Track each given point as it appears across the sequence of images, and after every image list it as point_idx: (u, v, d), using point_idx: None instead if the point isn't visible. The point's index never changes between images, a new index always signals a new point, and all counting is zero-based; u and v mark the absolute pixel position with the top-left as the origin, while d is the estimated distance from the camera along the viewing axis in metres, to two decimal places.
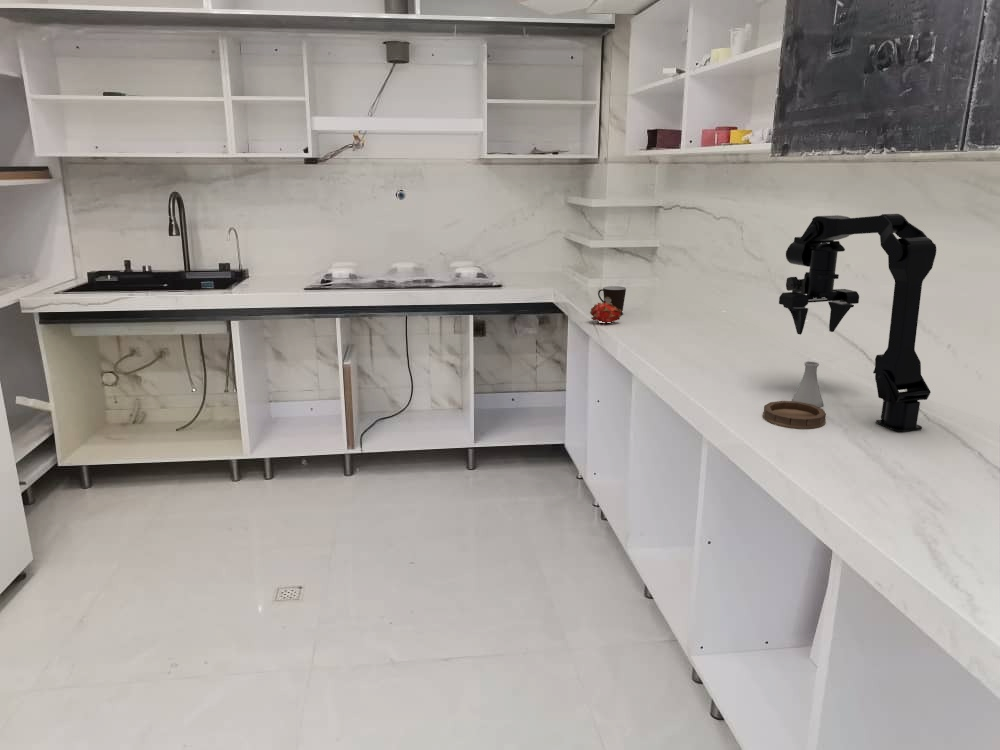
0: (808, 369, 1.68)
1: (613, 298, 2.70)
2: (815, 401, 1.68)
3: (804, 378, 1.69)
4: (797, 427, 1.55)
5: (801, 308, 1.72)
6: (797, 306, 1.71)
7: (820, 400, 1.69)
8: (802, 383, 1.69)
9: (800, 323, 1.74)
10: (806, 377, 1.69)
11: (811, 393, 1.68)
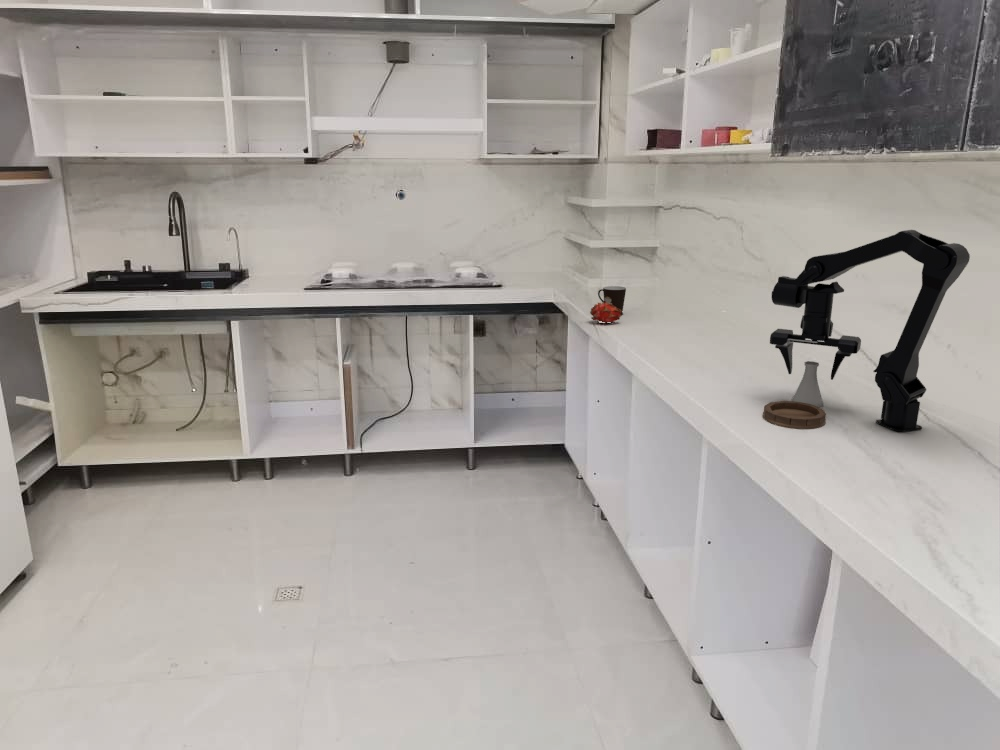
0: (808, 369, 1.68)
1: (613, 298, 2.70)
2: (815, 401, 1.68)
3: (804, 378, 1.69)
4: (797, 427, 1.55)
5: (780, 346, 1.69)
6: (773, 343, 1.69)
7: (820, 400, 1.69)
8: (802, 383, 1.69)
9: (785, 362, 1.70)
10: (806, 377, 1.69)
11: (811, 393, 1.68)
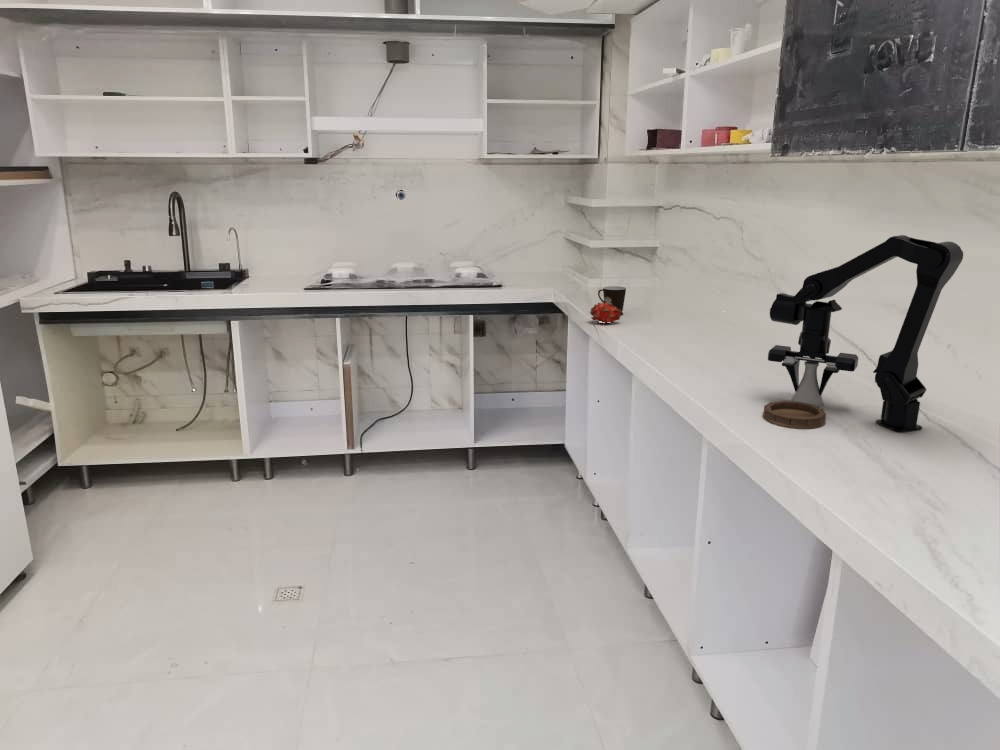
0: (808, 369, 1.68)
1: (613, 298, 2.70)
2: (815, 400, 1.68)
3: (804, 378, 1.69)
4: (797, 427, 1.55)
5: (787, 364, 1.69)
6: (771, 360, 1.70)
7: (820, 400, 1.69)
8: (802, 383, 1.69)
9: None
10: (806, 377, 1.69)
11: (811, 392, 1.68)
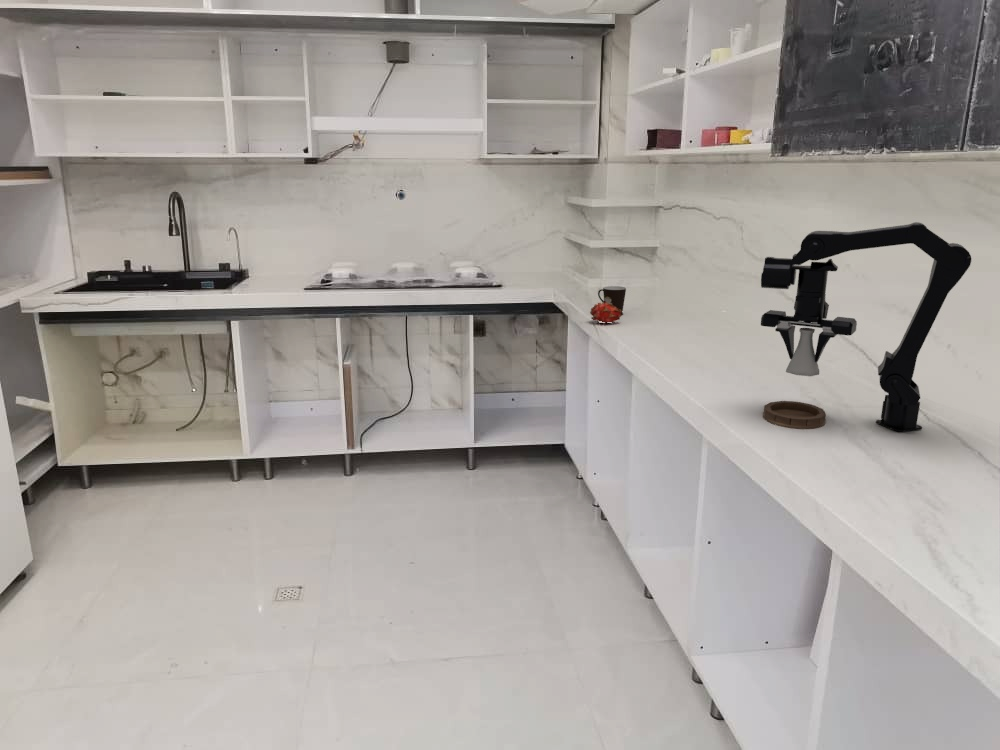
0: (803, 335, 1.59)
1: (613, 298, 2.70)
2: (810, 369, 1.58)
3: (799, 345, 1.60)
4: (797, 427, 1.55)
5: (781, 329, 1.60)
6: (764, 325, 1.61)
7: (816, 368, 1.59)
8: (797, 350, 1.60)
9: (786, 346, 1.61)
10: (801, 344, 1.59)
11: (805, 360, 1.59)
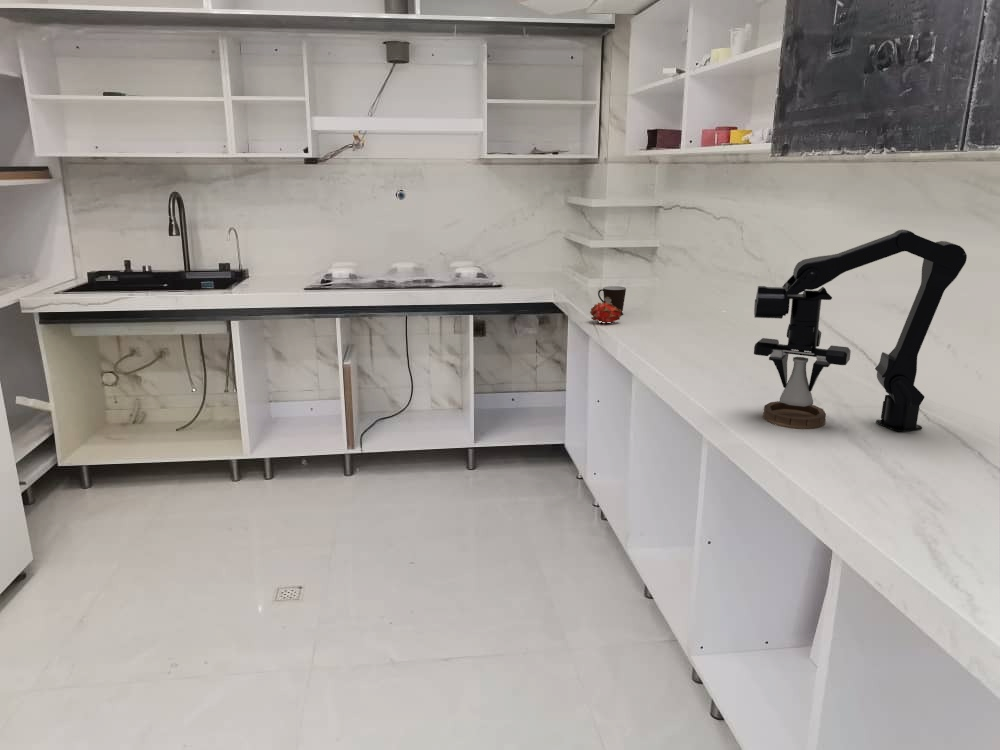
0: (797, 365, 1.57)
1: (613, 298, 2.70)
2: (804, 399, 1.57)
3: (792, 375, 1.58)
4: (797, 427, 1.55)
5: (774, 358, 1.58)
6: (757, 353, 1.59)
7: (810, 398, 1.57)
8: (790, 380, 1.58)
9: None
10: (794, 374, 1.58)
11: (799, 390, 1.57)
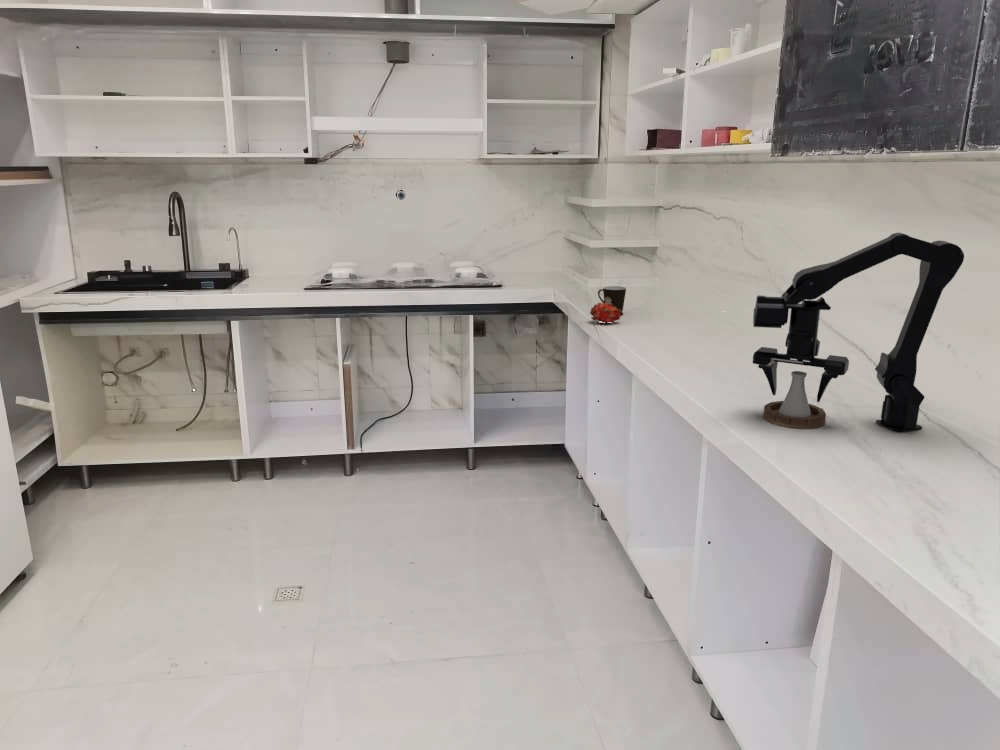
0: (795, 379, 1.58)
1: (613, 298, 2.70)
2: (802, 413, 1.57)
3: (791, 389, 1.59)
4: (797, 427, 1.55)
5: (764, 366, 1.59)
6: (756, 362, 1.60)
7: (808, 413, 1.58)
8: (789, 394, 1.59)
9: None
10: (792, 388, 1.58)
11: (797, 405, 1.58)
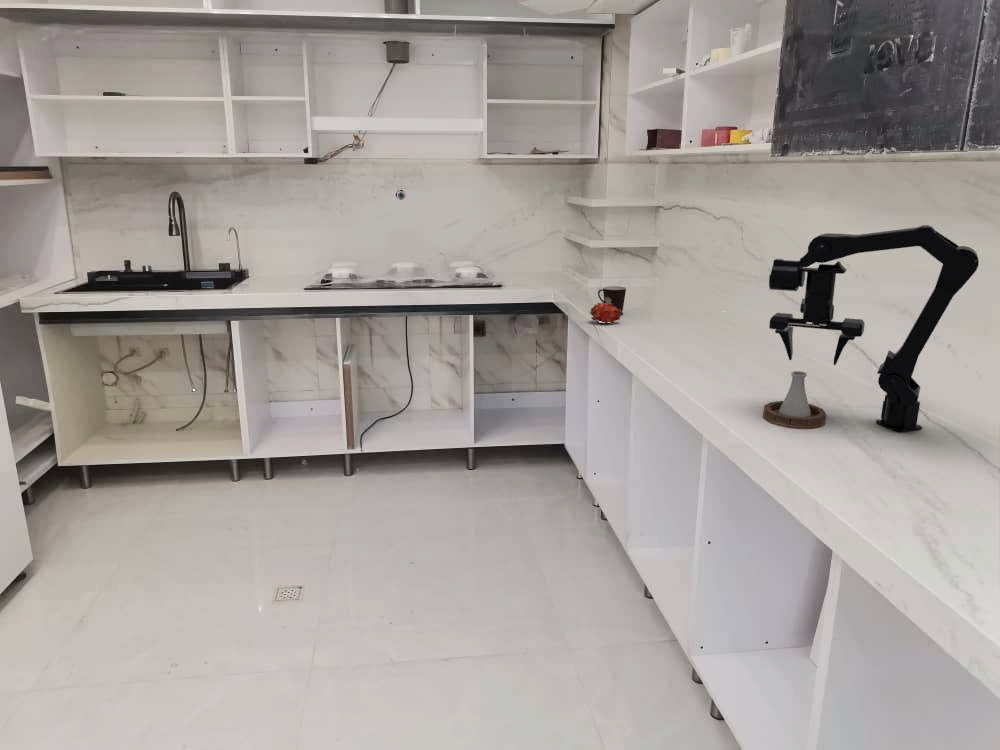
0: (795, 379, 1.58)
1: (613, 298, 2.70)
2: (802, 413, 1.57)
3: (791, 389, 1.59)
4: (797, 427, 1.55)
5: (781, 331, 1.61)
6: (773, 327, 1.61)
7: (808, 413, 1.58)
8: (789, 394, 1.59)
9: None
10: (792, 388, 1.58)
11: (797, 405, 1.58)
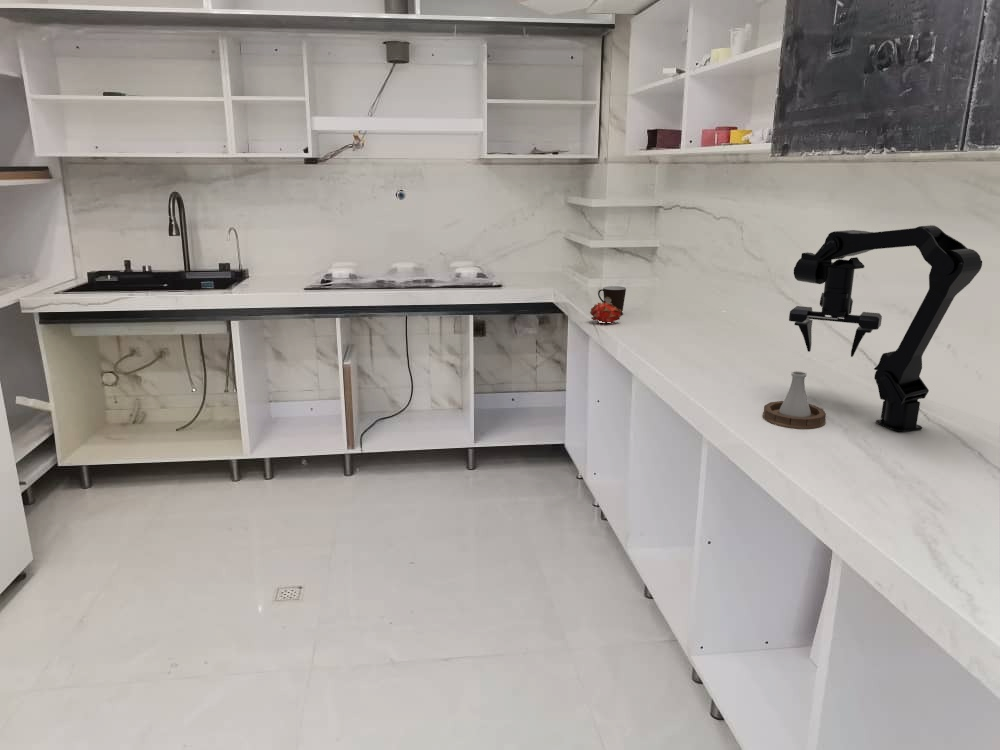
0: (795, 379, 1.58)
1: (613, 298, 2.70)
2: (802, 413, 1.57)
3: (791, 389, 1.59)
4: (797, 427, 1.55)
5: (800, 323, 1.68)
6: (793, 320, 1.68)
7: (808, 413, 1.58)
8: (789, 394, 1.59)
9: None
10: (792, 388, 1.58)
11: (797, 405, 1.58)
